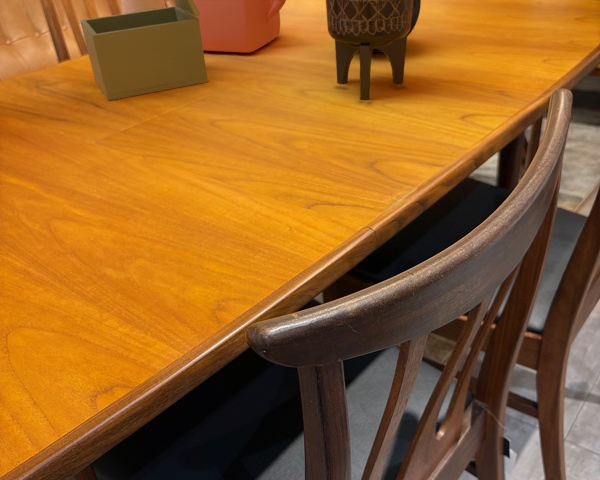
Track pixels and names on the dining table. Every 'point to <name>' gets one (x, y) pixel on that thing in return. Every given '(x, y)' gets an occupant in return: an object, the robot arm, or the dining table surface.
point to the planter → (369, 35)
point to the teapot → (238, 23)
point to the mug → (141, 5)
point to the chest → (145, 51)
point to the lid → (188, 6)
